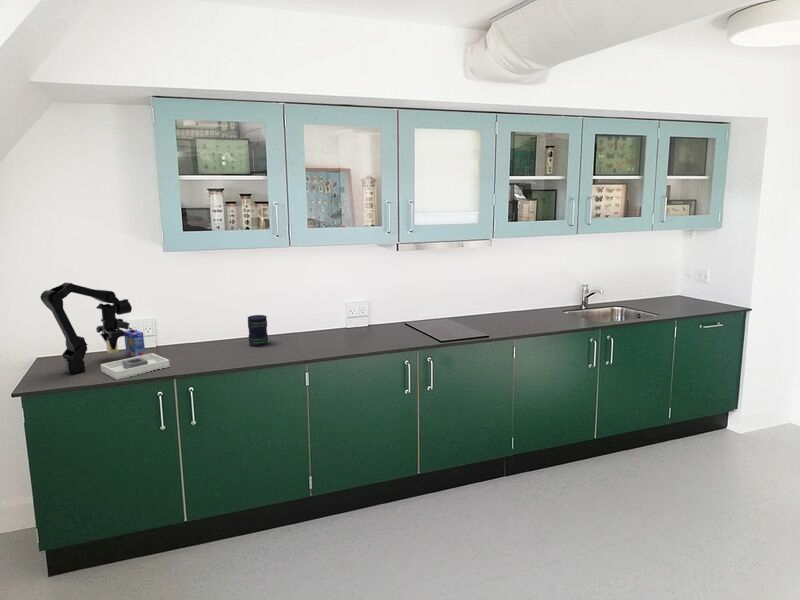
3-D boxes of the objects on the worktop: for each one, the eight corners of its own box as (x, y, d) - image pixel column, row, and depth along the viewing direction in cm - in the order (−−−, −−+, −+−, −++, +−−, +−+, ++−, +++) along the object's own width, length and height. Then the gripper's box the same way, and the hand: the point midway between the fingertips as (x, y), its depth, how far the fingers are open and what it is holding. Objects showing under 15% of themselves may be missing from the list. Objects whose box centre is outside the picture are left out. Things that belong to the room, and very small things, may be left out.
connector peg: (110, 353, 285) (109, 341, 284) (107, 352, 287) (105, 339, 286) (118, 351, 287) (116, 339, 286) (115, 350, 290) (113, 338, 289)
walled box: (116, 379, 262) (115, 370, 261) (101, 371, 273) (100, 363, 273) (169, 367, 279) (168, 358, 278) (153, 360, 291) (152, 352, 290)
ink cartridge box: (125, 355, 300) (122, 326, 297) (136, 352, 304) (133, 324, 301) (135, 358, 294) (132, 329, 291) (146, 356, 298) (143, 327, 295)
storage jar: (245, 346, 312) (244, 318, 310) (253, 342, 322) (251, 314, 319) (264, 347, 311) (262, 319, 308) (271, 342, 320) (269, 315, 318)
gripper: (134, 316, 284) (137, 348, 287) (118, 311, 296) (121, 342, 299) (110, 320, 276) (113, 353, 279) (94, 315, 288) (97, 346, 291)
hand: (112, 348), depth 287 cm, fingers closed on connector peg, 4 cm apart
